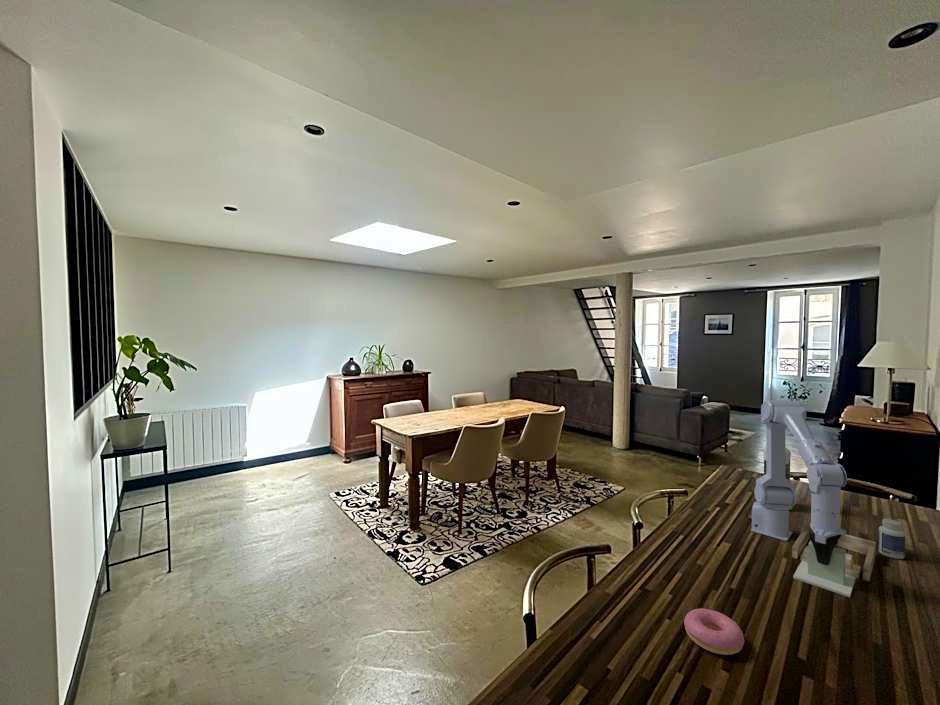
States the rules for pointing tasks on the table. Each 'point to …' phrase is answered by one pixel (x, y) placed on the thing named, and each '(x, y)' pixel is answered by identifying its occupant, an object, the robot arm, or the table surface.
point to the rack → (847, 543)
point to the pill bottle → (892, 539)
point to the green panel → (833, 570)
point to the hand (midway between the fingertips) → (824, 561)
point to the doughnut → (714, 631)
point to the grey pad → (824, 581)
